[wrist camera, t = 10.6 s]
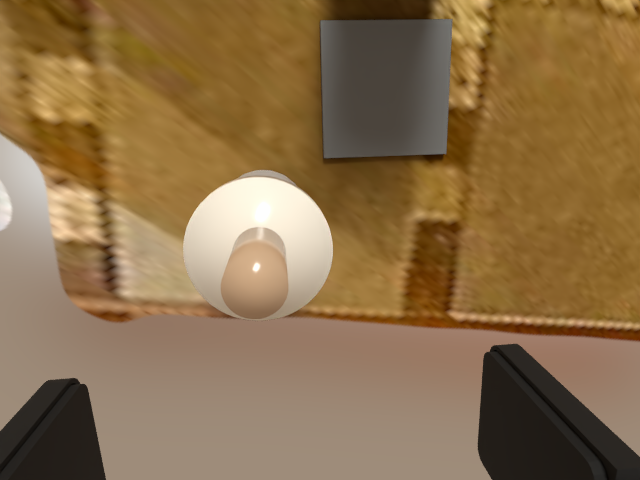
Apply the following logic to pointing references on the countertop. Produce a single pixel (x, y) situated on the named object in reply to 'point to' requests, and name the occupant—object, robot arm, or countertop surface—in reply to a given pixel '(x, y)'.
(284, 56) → the countertop surface
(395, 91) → the mat
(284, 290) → the lid
